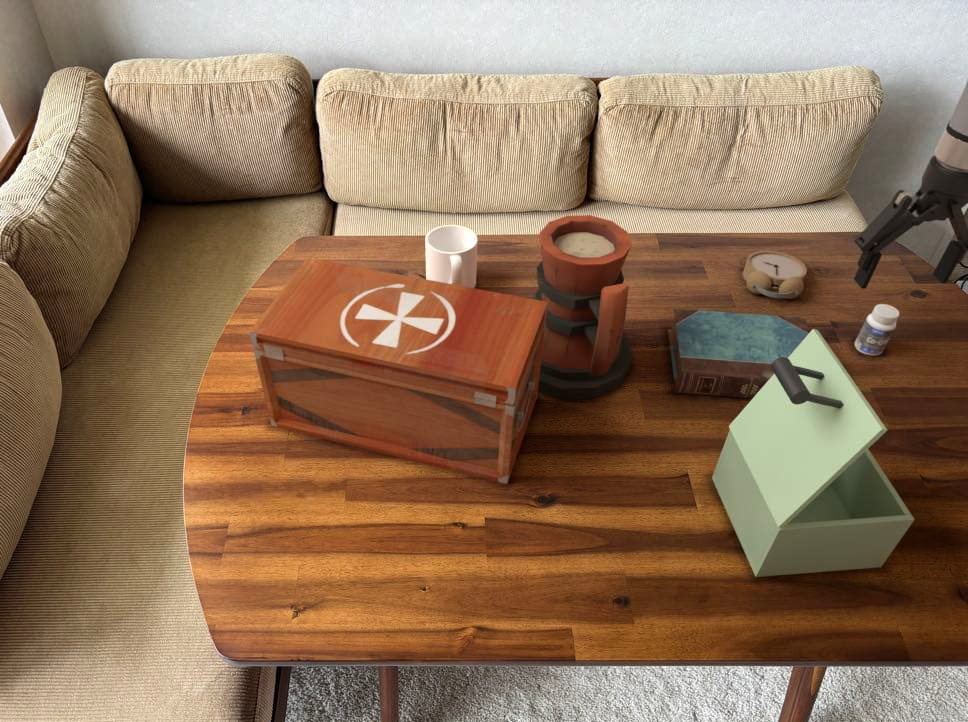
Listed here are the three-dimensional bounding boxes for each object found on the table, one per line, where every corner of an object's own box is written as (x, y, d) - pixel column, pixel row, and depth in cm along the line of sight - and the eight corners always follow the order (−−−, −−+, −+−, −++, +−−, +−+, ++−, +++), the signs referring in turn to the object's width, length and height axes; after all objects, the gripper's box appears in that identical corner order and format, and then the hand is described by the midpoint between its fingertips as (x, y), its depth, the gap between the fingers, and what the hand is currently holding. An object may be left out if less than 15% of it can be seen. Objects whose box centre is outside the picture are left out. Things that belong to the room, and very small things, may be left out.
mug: (423, 271, 157) (422, 227, 150) (471, 266, 158) (472, 222, 151) (431, 308, 148) (430, 263, 141) (482, 303, 149) (484, 258, 142)
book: (675, 394, 130) (682, 372, 127) (667, 329, 142) (673, 307, 139) (816, 406, 128) (827, 384, 124) (796, 338, 140) (805, 316, 136)
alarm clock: (805, 255, 154) (812, 286, 142) (797, 277, 156) (803, 310, 145) (746, 246, 156) (748, 276, 144) (740, 268, 159) (741, 300, 147)
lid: (818, 329, 97) (766, 316, 95) (887, 430, 85) (830, 417, 83) (732, 427, 109) (685, 417, 107) (783, 528, 97) (730, 519, 94)
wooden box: (320, 348, 140) (306, 255, 126) (539, 395, 130) (550, 301, 116) (269, 425, 127) (246, 331, 113) (509, 485, 117) (517, 389, 103)
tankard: (599, 310, 147) (619, 194, 130) (660, 398, 130) (693, 277, 112) (490, 330, 143) (495, 214, 126) (537, 423, 126) (552, 303, 109)
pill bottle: (859, 356, 136) (878, 319, 130) (850, 339, 139) (867, 302, 134) (886, 356, 136) (906, 319, 130) (876, 339, 139) (895, 302, 133)
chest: (824, 469, 118) (850, 420, 110) (881, 567, 105) (914, 519, 98) (711, 478, 117) (729, 429, 109) (755, 577, 105) (779, 529, 97)
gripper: (1026, 144, 115) (959, 263, 130) (865, 154, 114) (816, 272, 129) (1059, 169, 110) (985, 289, 125) (891, 179, 109) (836, 299, 124)
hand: (899, 281), depth 127 cm, fingers open, 13 cm apart
